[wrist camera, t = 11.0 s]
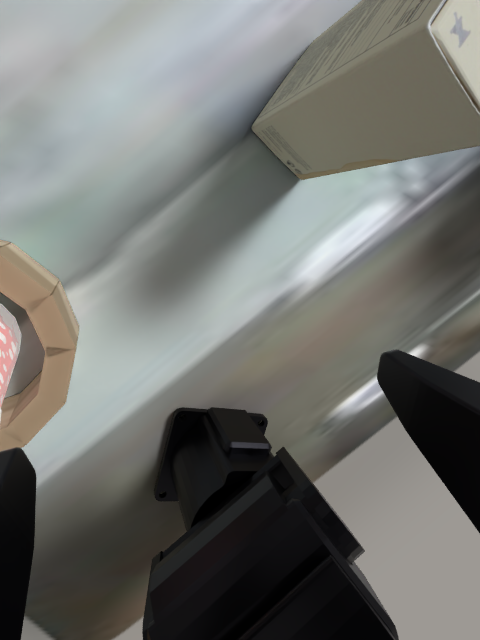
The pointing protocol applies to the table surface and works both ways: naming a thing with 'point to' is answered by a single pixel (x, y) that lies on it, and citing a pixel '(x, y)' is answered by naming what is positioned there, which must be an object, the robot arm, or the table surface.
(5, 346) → the beverage cup
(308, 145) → the skincare box
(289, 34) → the table surface
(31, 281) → the holder ring
